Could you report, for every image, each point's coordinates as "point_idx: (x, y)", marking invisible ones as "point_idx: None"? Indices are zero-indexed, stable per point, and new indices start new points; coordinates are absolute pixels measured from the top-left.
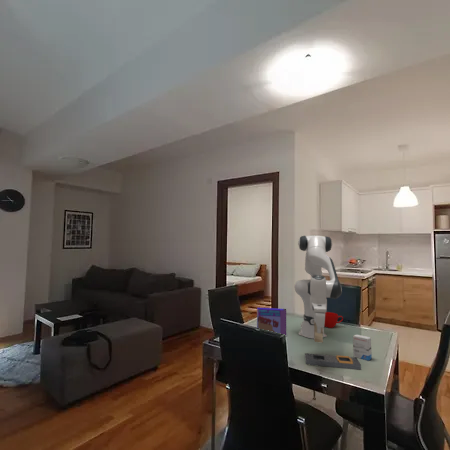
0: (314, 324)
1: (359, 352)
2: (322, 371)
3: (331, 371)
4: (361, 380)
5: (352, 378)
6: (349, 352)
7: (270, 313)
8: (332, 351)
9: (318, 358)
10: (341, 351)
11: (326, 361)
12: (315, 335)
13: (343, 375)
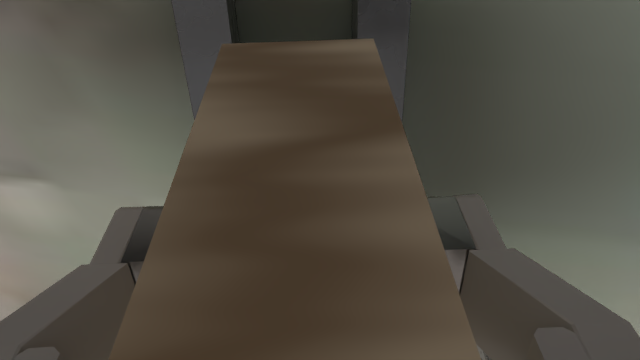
0: (326, 281)
1: (480, 355)
2: (41, 22)
3: (92, 106)
4: (35, 279)
5: (34, 236)
6: (599, 277)
7: None
8: (634, 161)
9: (354, 9)
10: (628, 229)
11: (191, 95)
12: (205, 114)
13: (56, 187)
